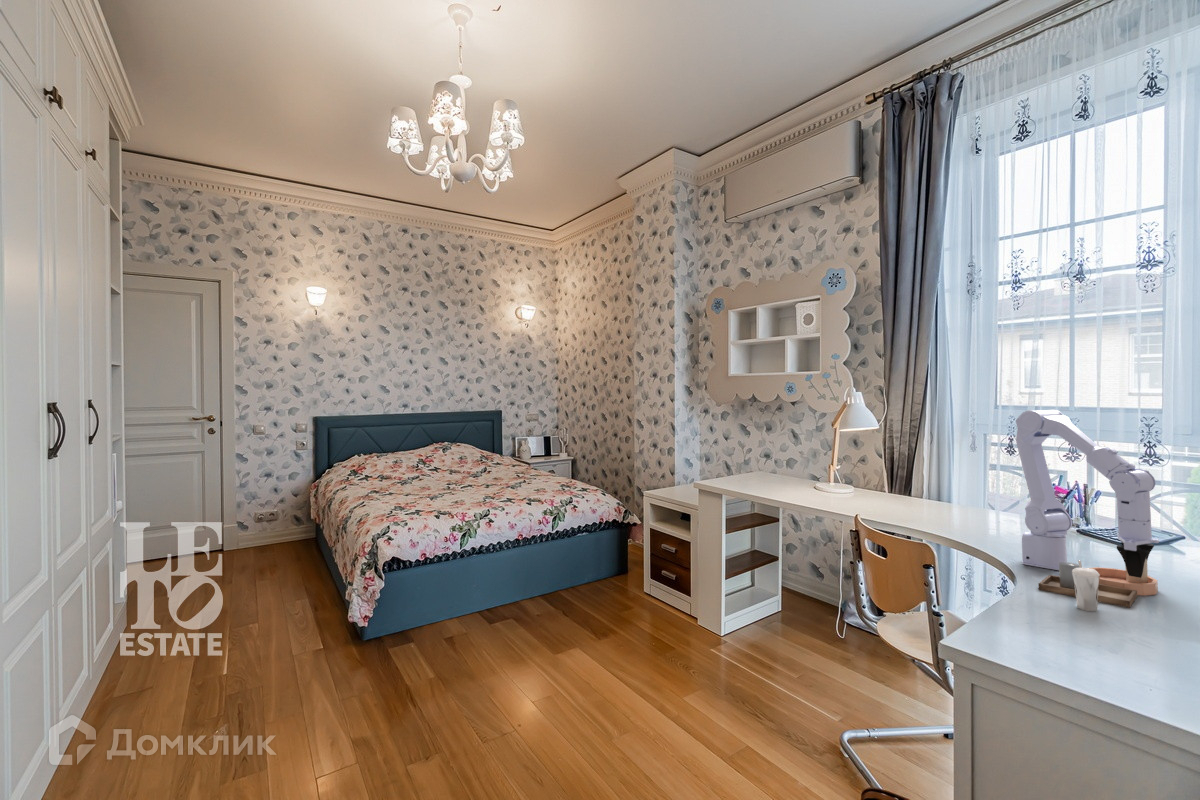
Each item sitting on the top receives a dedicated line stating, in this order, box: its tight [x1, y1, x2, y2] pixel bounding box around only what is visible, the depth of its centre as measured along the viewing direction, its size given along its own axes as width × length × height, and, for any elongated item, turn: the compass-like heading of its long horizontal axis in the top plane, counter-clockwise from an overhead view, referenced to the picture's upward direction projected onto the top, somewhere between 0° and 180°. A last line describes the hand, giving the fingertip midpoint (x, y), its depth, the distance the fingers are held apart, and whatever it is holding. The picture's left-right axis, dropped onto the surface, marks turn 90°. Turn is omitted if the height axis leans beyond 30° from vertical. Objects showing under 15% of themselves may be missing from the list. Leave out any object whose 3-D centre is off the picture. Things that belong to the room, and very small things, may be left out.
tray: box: [1038, 574, 1138, 609], centre depth 126 cm, size 16×10×2 cm, turn 37°
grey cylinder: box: [1058, 561, 1079, 590], centre depth 128 cm, size 4×4×6 cm
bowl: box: [1088, 566, 1159, 597], centre depth 130 cm, size 13×13×3 cm
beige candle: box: [1124, 559, 1149, 584], centre depth 128 cm, size 4×4×6 cm
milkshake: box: [1072, 559, 1100, 613], centre depth 117 cm, size 4×5×10 cm
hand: (1136, 574), depth 128 cm, fingers closed on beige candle, 4 cm apart
